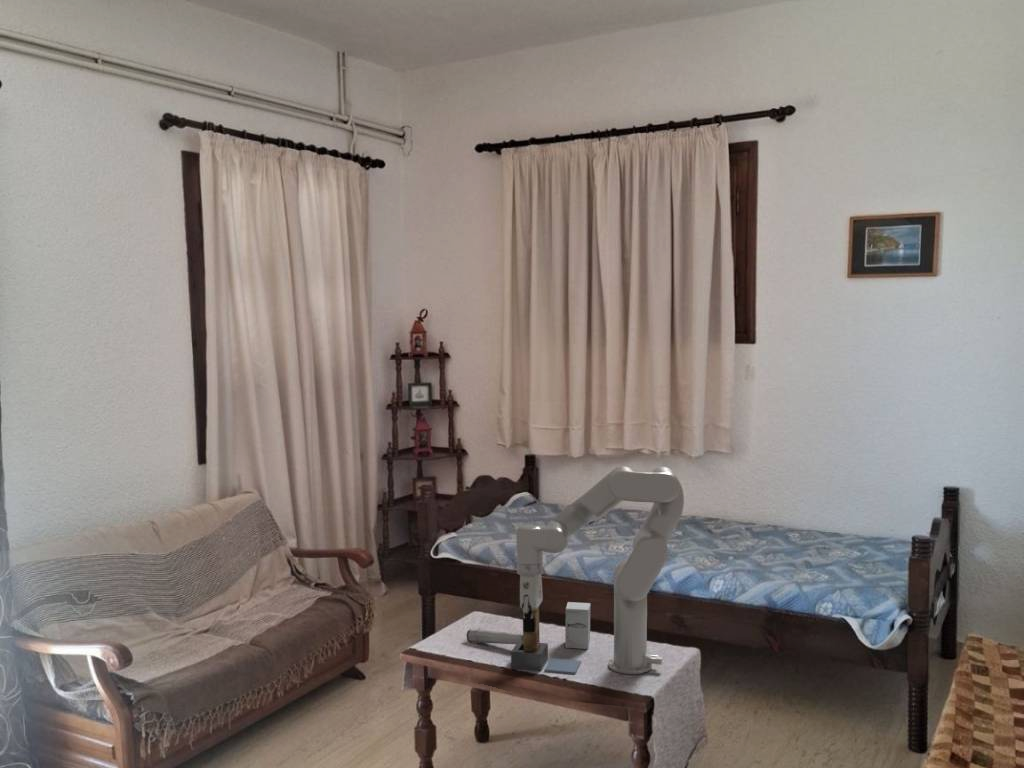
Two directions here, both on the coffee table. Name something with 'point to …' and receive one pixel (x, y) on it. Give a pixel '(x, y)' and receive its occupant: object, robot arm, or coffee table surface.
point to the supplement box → (577, 625)
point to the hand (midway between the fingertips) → (531, 628)
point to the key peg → (532, 634)
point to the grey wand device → (493, 637)
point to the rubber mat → (562, 666)
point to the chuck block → (529, 657)
